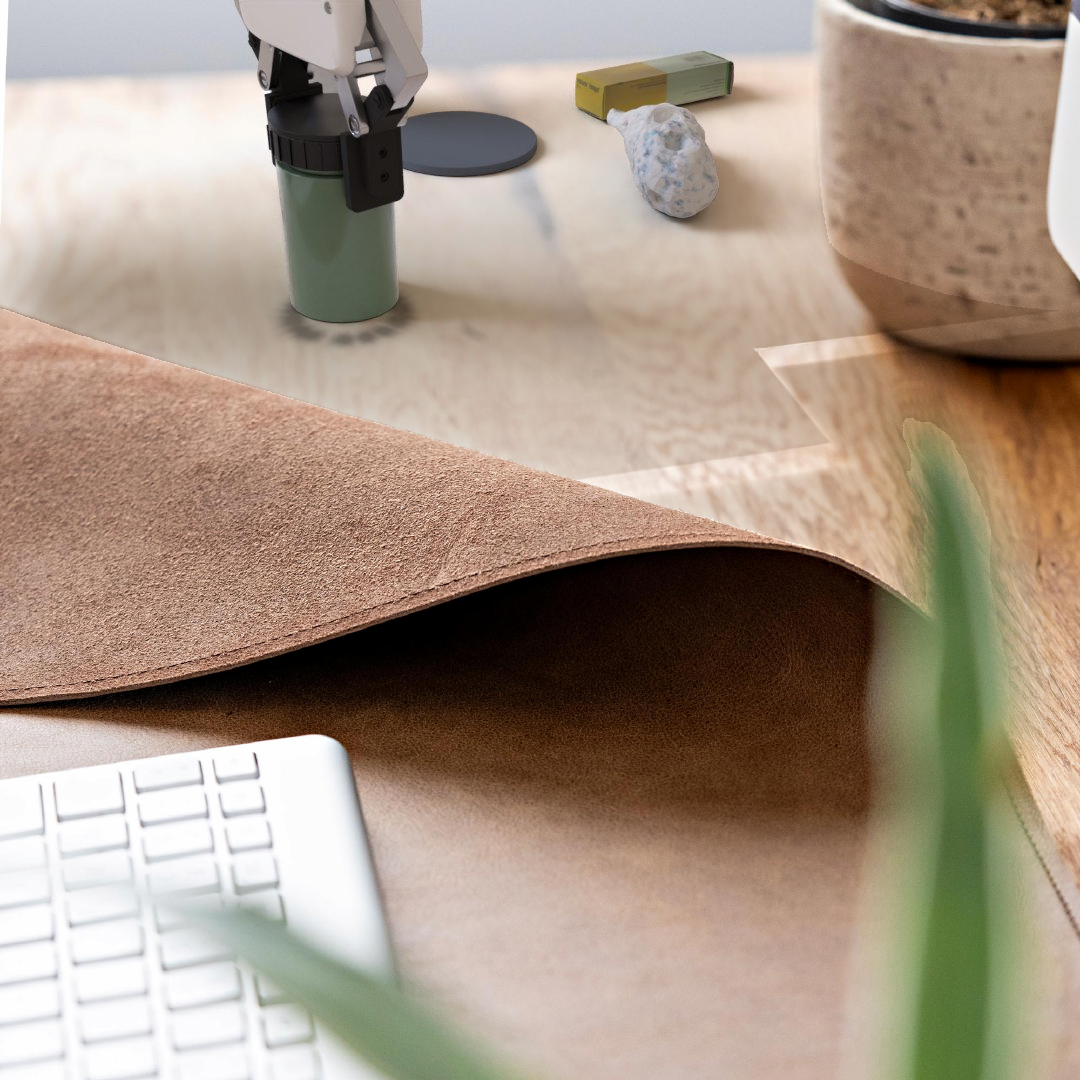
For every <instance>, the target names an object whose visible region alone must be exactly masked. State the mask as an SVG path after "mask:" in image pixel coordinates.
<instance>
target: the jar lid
mask: <svg viewBox="0 0 1080 1080" xmlns="http://www.w3.org/2000/svg"><path fill="white" fill-rule="evenodd" d="M367 96H368V95H363V94H361V97H362V100H363V103H364V101H365V99H366V98H367ZM266 119H267V124H266V125H265V127H266V134H267V143H268V151H270V153H272V155H271V157H272V156H274V158H276V159H277V160H278V161H280V162H281V163H283V164H286V165H289V166H291V167H295V168H300V169H304V170H312V171H343V163H342V151H341V139H340V133H343V132H346V131H349V129H348V126H347V123H346V119H345V116H344V112H343V109H342V105H341V102H340V99H339V95H338V93H323V94H312V95H306V96H301V97H296V98H292V99H289V100H286V101H283V102H281V103H279V104H277V105H275V106H274V107H273V108H271V109H270V111H269V112H268V114H267V113H266Z"/></svg>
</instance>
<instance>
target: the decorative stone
mask: <svg viewBox="0 0 1080 1080" xmlns="http://www.w3.org/2000/svg"><path fill="white" fill-rule="evenodd" d="M606 122H607V124H608V125H609V126H612V127H613V128H614V129H616V130H617V131H618V132H619V135H620V136H621V137H622V140H623V145H624V150H625V152H626V155H627V158H628V161H629V164H630V165H629V166H630V168H631V172H632V175H633V180H634V184H635V186H636V188H637V189H638V191H639V192H640V194H641V195H642V196H643V197H644V198H645V200H646V201H647V202H648V204H649V205H650V206H651V207H652V208H653V209H655V210H657V211H659V212H661V213H663V214H665V215H667V216H669V217H675V218H682V219H687V218H691V217H693V216H695V215H697V214H698V213H699V212H701V211H703V210H705V209H706V208H707V207H709V206H710V205H711V203H712V202H713V200H715V198H716V195H717V193H718V191H719V187H720V179H719V176H718V172H717V165H716V162H715V160H714V157H713V153H712V150H711V149H710V147H709V145H708V144H707V142H706V132H705V129H704V127H703V126H702V125H701V123H699V122H698V120H697V118H696V116H694V114H693V113H692V112H691V111H690V110H689V109H687V108H685V107H681V106H678V105H671V104H669V103H661V104H658V105H646V106H642V107H639V108H637V109H633V110H630V111H628V112H624V111H620V110H616V109H614V108H612V109H611V110H610V111H609V113H608V115H607V119H606Z"/></svg>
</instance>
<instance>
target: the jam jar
mask: <svg viewBox="0 0 1080 1080" xmlns="http://www.w3.org/2000/svg"><path fill="white" fill-rule="evenodd" d="M275 160H276V167H275V169H276V177H277V179H276V180H277V187H278V197H279V198H278V199H279V205H280V216H281V226H282V233H283V244H284V245H283V246H284V253H285V263H286V274H287V283H288V292H289V299H290V305H291V306H292V307H293V309H294V310H295V311H297V312H298V313H299V314H301V315H303V316H305V317H307V318H310V319H314V320H317V321H322V322H330V323H351V322H352V323H353V322H360V321H365V320H369V319H372V318H376V317H379V316H381V315H383V314H386V313H387V312H388V311H390V310H391V309H392V308H394V307H395V306H396V305H397V303H398V301H399V298H400V284H399V283H400V282H399V266H398V262H399V261H398V245H397V223H396V222H397V221H396V203H395V202H393V203H390V204H386V205H383V206H380V207H376V208H373V209H370V210H366V211H363V212H360V213H355V212H353V211H351V210H350V209H348V208H347V206H346V198H345V187H344V175H343V171H312V170H304V169H300V168H295V167H291V166H289V165H286V164H283V163H281V162H280V161H278V160H277V159H275Z"/></svg>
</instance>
